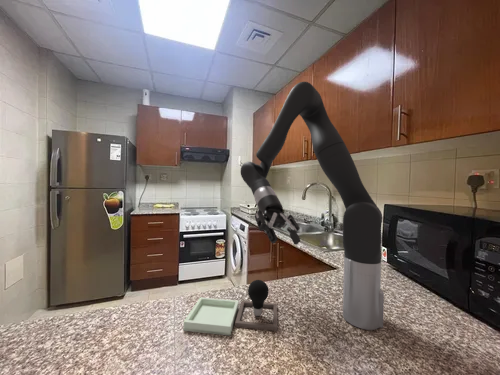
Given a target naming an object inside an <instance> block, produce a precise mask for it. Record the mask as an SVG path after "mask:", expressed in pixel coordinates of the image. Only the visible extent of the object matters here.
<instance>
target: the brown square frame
mask: <svg viewBox="0 0 500 375" xmlns="http://www.w3.org/2000/svg"><path fill="white" fill-rule="evenodd" d="M244 307H252V308H253V304H252V300H251V301H249V300H241V301H240V304H239V308H238V311H237V315H236V318H235V322H234V327H237V328H246V329H252V330H253V329H256V330H262V331H263V330H264V331H271V332H272V331H274V332H278V304H277V303H273V302H264V304H263V307H262V309H264V308H265V309H273V317H272V318H273V323H266V322H265V323H264V322H256V321H247V320H245V321H243V320H241V319H242V315H243V312H244Z"/></svg>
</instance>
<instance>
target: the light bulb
mask: <svg viewBox="0 0 500 375" xmlns="http://www.w3.org/2000/svg"><path fill="white" fill-rule="evenodd" d="M247 294H248V297H249V299H250V300H251V301H252V304H253V307H252V308H253V311H252V312H253V315H254V316H256V317H259V316H260V317H261V315H263V304H264V303H265V301H266V300H267V298H268V297H269V287H268V285H267V283H266V282H265V281H264V280H261V279H256V280H253V281H252V282H250V284H249V285H248V288H247Z"/></svg>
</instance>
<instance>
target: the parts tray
mask: <svg viewBox="0 0 500 375" xmlns="http://www.w3.org/2000/svg"><path fill="white" fill-rule="evenodd" d="M239 301H240V300H237V299H236V300H235V299H223V298H213V297H203V296H201V297H199V299H198V300H197V301H196V303H195V304H194V306H193V307H192V309H191V310H190V312H189V313H188V314H187V316H186V318H185V319H184V321H183V331H184V332H193V333H203V334H210V335H211V334H213V335H223V336H232V331H233V328H234V326H235V321H236V318H237V314H238V311H239V307H240V304H239Z"/></svg>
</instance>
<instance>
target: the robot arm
mask: <svg viewBox="0 0 500 375" xmlns="http://www.w3.org/2000/svg"><path fill="white" fill-rule="evenodd" d="M299 116H300V117H301V118H302V120H303V122H304V123H305V125H306V126H307V129H308V131H309V133H310V137H311V138H310V139H311V144H312V149H313V153H314V155H315V157H316V159H317V161H318V164H319V166H320V167H321V170H322V172H323V173H324V174H325V175H326V177H327V178H328V180H329V181H330V183H331V184H332V186H333V187H334V188H335V189H336V191H337V192H338V194H339V196H340V199H341V200H342V203H343V205H344V208H345V210H344V213H343V218H342V248H343V252H344V254H343V287H342V288H343V291H342V292H343V294H342V317H343V318H344V320H345V321H346V322H347V323H349V324H351V325H352V326H354V327H356V328H358V329H359V328H360V329H363V330H367V331H374V330H376V329H379V328H381V329H383V328H384V308H385V306H384V305H385V301H384V300H385V292H384V290H382V289H381V284H382V283H381V281H382V280H381V279H382V277H381V276H382V224H383V220H384V219H383V218H384V217H383V214H382V212H381V210H380V208H379V207H378V206H377V204H376V202H375V201H374V200H373V198H372V197H371V196H370V194H369V192H368V190H367V189H366V187H365V185H364V184H363V181H362V179H361V176H360V174H359V172H358V169H357V167H356V163H355V162H354V159H353V157H352V155H351V153H350V151H349V148H348V147H347V145H346V143H345V141H344V139H343V138H342V136H341V135H340V133H339V131H338V130H337V128H336V127H335V125H334V124H333V123H332V121H331V119H330V117H329V114H328V113H327V110H326V107H325V105H324V101H323V99H322V96H321V94H320V93H319V90H317V89H316V88H315V86H313V84H311V82H308V81H300V82H298V83H296V84H295V85H294V86H293V87H292V88H291V90H290V91H289V93H288V95H287V96H286V99H285V100H284V103H283V106H282V108H280V111H279V114H278V116H277V117H276V119H275V122H274V123H273V126H272V128H271V129H270V132H269V134H267V135H266V138H265V139H264V141H263V143H262V144H261V145H260V146H259V148H258V150H257V152H256V153H255V157H256V158H257V159H258V160H259V161H260V164H257V163H255V162H252V161H246V162H244V163H243V164H242V165H241V166H240V176H241V179H242V180H243V182H244V183H245V184H246V185H247V186H248V188H249V189H250V190H251V193H252V194H253V197H254V201H255V204H256V206H257V208H258V209H257V210H258V211H256V213H255V215H254V218H255V222H256V225H257V228H258V230H259V231H261V232H262V231H264V232H265V234H266V236H267V237H268V240H269V242H271V244H276V242H277V241H278V236H277V234H276V232H275V230H274V229H275V228H278V229H281V230H282V231H284V232H286V233H288V234H289V236H290V240H292V242H293V245H295V246H296V245H298V244H299V243H301V238H300V236H299V234H298V232H299V230H300V226H299V224H298V223H297V221H296V220H295V217H293V215H292V214H288V216H287V215H286V214H284V210H283V209H284V208H283V205H282V203H281V201H280V199H279V197H278V195H277V193H276V191H275V190H274V189H273V188H272V185H271V184H270V182H269V180H268V179H267V177H268V175H269V172H270V169H271V167H272V165H273V162H274V160H275V159H276V158H277V156H278V155H279V154H280V152H281V150H282V149H283V147H284V145H285V144H286V140H287V137H288V134H289V131H290V129H291V126H292V125H293V123H294V121H295V120H296V119H297V118H298V117H299ZM285 224H286V225H285ZM284 225H285V226H284Z"/></svg>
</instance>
